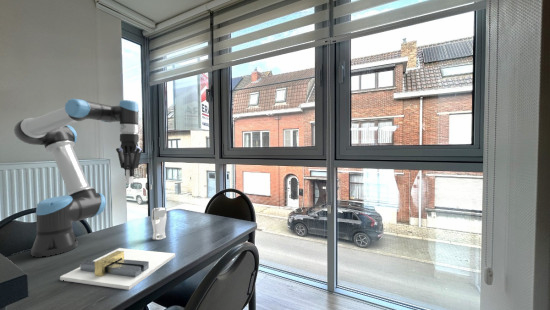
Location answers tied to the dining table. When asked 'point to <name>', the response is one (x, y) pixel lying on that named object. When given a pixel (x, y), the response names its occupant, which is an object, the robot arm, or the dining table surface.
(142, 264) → the moving jaw
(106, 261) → the collar
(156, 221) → the beer glass
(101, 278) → the board
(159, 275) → the dining table surface
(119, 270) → the fixed jaw
